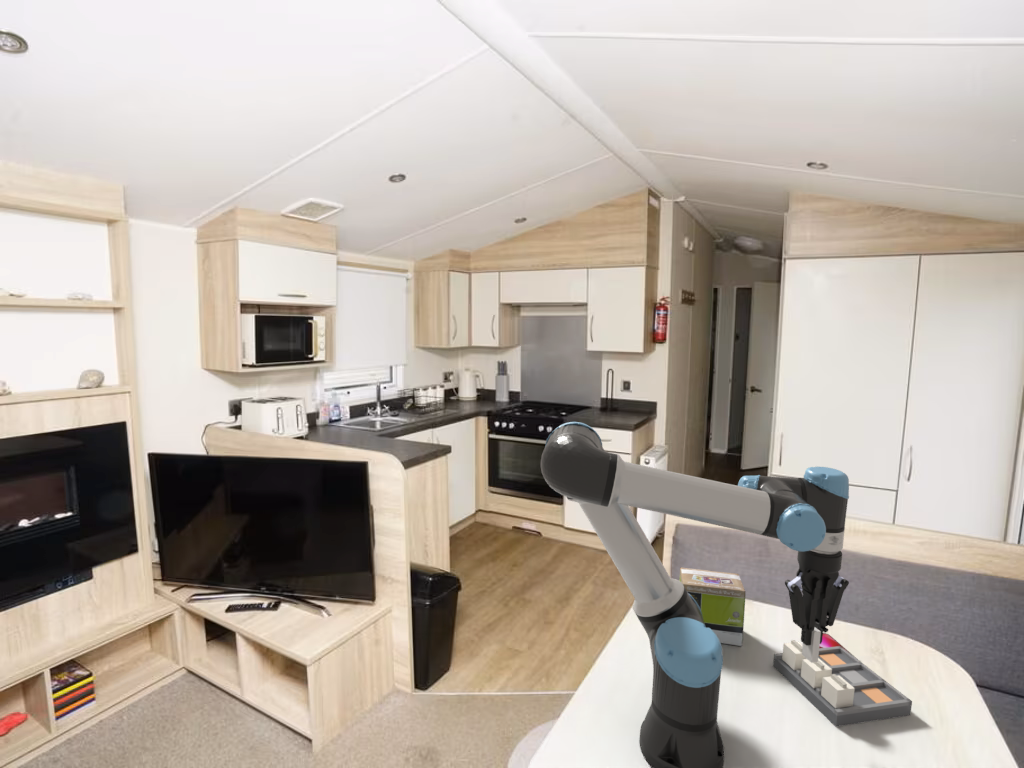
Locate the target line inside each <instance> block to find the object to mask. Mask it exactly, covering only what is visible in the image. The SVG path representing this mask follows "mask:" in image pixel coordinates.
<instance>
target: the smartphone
mask: <svg viewBox="0 0 1024 768" xmlns="http://www.w3.org/2000/svg"><path fill="white" fill-rule="evenodd" d="M822 637H823V638H822V643H821V644H820V645H819V648H828V647H836V646H841V647H842V648H843V649H845V650H846V651H847V652H849V653H850V654H851V655H853V654H852V653H851V652H850V651H849V650H848V649H847V648H846V647H844V646H843V645H842V644H841V643H840V642H838V641H837V639H835V638H834V637H833V636H831V635H830V634H829V633H828V632H826V633H825V632H823V636H822ZM853 656H854V657H855V658H856V659H858V658H857V657H856V656H855V655H853Z"/></svg>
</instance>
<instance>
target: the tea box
mask: <svg viewBox="0 0 1024 768" xmlns="http://www.w3.org/2000/svg"><path fill="white" fill-rule="evenodd" d="M679 581H680V582H681V583H682V584H683V586H684V587H685V589H686V591H687V592H688V593H689V594H690V595H691V596H692V597H693V598H694V600H695V601H696V602H697V604H698V605H699V607H700V609H701V612H702V616H703V620H704V623H705V626H706V628H710V629H711V630H712V631H713V632H714V633H715V634H716V635H717V637H718V639H719V641H720V643H721V644H725V645H731V646H732V645H733V646H739V647H742V646H743V641H744V638H743V637H744V626H745V625H744V623H745V611H746V610H745V609H746V593H747V592H746V590H745V587H744V584H743V582H742V579H741V577H740V574H739V573H735V572H734V573H733V572H723V571H714V570H707V569H698V568H689V567H688V568H686V567H680V569H679Z"/></svg>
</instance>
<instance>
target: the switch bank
mask: <svg viewBox="0 0 1024 768" xmlns="http://www.w3.org/2000/svg"><path fill="white" fill-rule="evenodd" d="M845 649H846V648H845ZM845 649H843V648H842V647H841V646H836V647H828V648H819V656H818V658H819V659H820V660H821V661H823V662H824V663H825V664H826V665H827V666H829V667H830V668H831V669H832V674H835V675H836V676H838V675H839V676H841V677H842V678H843V679H844V680H845V681H847V682H848V683H849V684H850V685H851V686H853V687H854V688H855V690H854V698H853V706H850V707H843V708H835V707H833V706H832V705H831V704H830V703H829V702H828V701H827V700H826V699H825V698H824V697H823V696H822V695H821V690H822V688H813V687H812V686H811V685H810V684H808V683H807V682H806V681H805V680H804V679H803V678H802V677H801V670H793V669H792V668H791V667H790V666H789V665H788V664H787V663H786V662H784V661H783V660H782V655H783V652H777V653H774V654H773V662H772V667H773V668H774V669H775V670H776V671H777V672H778V673H779V674H780V675H782V677H783V678H784V679H785V680H786V681H787V682H789V684H791V685H792V686H793V687H794V688H795V689H796V690H797V691H798V692H799V693H800V694H801V695H802V696H804V698H805V699H806V700H807V701H809V702H810V704H811V705H813V706H814V707H815V708H816V709H817V710H818V711H819V712H820V713H821V714H822V715H823V716H824V717H825V718H826V719H827V720H828V721H829V722H830V723H831V724H832V725H833V726H835V727H836V728H837V727H843V726H848V725H849V726H851V725H858V724H862V723H868V722H875V721H883V720H889V719H895V718H903V717H909V716H911V713H912V705H913V701H912V700H911V699H910V698H909V697H907V695H905V694H903V693H902V692H901V691H899V690H898V689H896V688H895V687H894V686H893V685H892V684H891V683H889V682H888V681H887V680H885V679H884V678H883V677H882V676H880V675H878V674H877V673H876V672H875V671H873V670H872V669H871V668H869V667H868V666H867V665H865V664H864V663H863V662H862V661H861V660H859V659H858V658H857V657H856V656H855V655H854V654H852V653H851V652H850V651H849V652H850V653H851V654H852V655H851V654H850V653H849V652H847V651H846V650H845ZM854 656H855V657H856V658H857V659H856V658H855V657H854Z"/></svg>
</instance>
